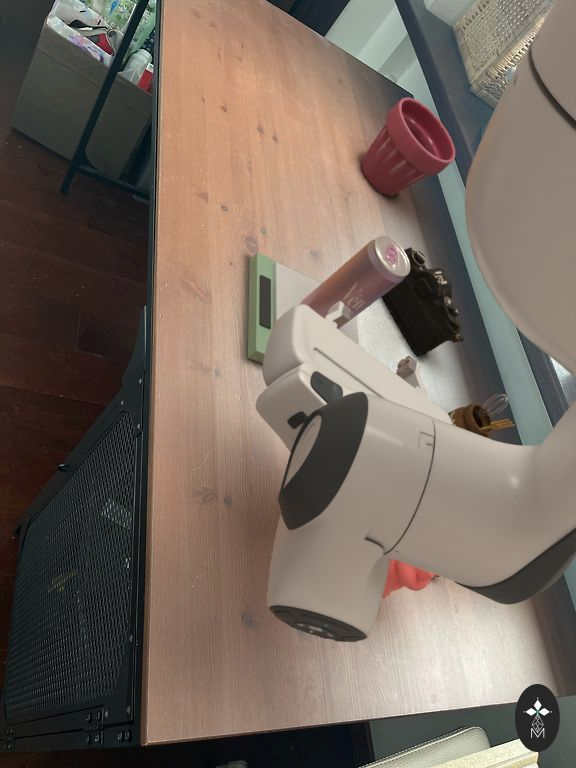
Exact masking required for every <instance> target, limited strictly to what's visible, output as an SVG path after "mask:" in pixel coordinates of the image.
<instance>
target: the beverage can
mask: <svg viewBox="0 0 576 768" xmlns="http://www.w3.org/2000/svg"><path fill="white" fill-rule="evenodd" d="M404 250H405V249H403V248H402V246H401V245H400V243H398V242H397V241H396V240H394V239H393V238H391V237H389V236H386V235H379V236H377V237H376V238H375V239H372V240H370V241H369V242H368V243H366V244H365V245H364V246H363V247H362V248H361V249H360V250H359V251H357V252H356V253H355V254H354V255H353V256H352V257H350V258H349V259H348V260H347V261H346V262H344V264H342V265H341V266H340V267H339V268H337V270H336V271H334V272H333V273H332V274H331V275H330V276H328V277H327V278H326V279H325V280H324V281H323V282H321V283H322V284H321V285H320V286H318V287H317V288H316V289H315V290H314V291H313V292H311V293H310V294H309V295H308V296H307V297H306V298H305V299H303V300H302V302H301V304H305V305H307V306H309V307H310V308H311V309H312V310H314V311H315V312H316V313H317V314H319V315H320V316H321V317H323V318H324V317H325V316H327V314H328V311H329V309H330V308H331V307H332V306H333V305H334V304H335V303H337V302H338V301H341V302H342V303H344V304H345V305H346V306H347V307H348V308H350V309H351V313H350V318H349V320H348V321H347V322H346V323H348V322H349V321H350V320H352V319H353V318H354V317H356V318H357V316H358V315H360V314H361V313H362V312H364V311H365V310H366V309H367V308H369V307H370V306H371V305H373V304H374V303H375V302H376V301H378V300H379V299H381V298H382V296H383V295H384V294H386V293H387V292H388V291H390V290H391V289H392V288H394V287H395V286H396V285H398V284H399V283H400V282H401V281H403V279H404V278H405V276H407V275H408V274H409V272H410V262H409V259H408V257H407V255H406V253H405V252H404ZM301 304H300V305H301ZM346 323H342V325H341V326H340V327H339V328H337V329H340V328H341V327H342V326H344V325H345V324H346Z"/></svg>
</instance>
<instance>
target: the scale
mask: <svg viewBox="0 0 576 768" xmlns="http://www.w3.org/2000/svg"><path fill="white" fill-rule="evenodd" d="M248 266H249V269H248V270H249V271H248V313H247V315H248V316H247V355H246V356H247V359H249V360H252V361H254V362H257V363H260V364H262V365H263V361H264V356H265V351H266V347H267V343H268V340H269V336H270V333H271V330H272V328H273V326H274V324H275V322H276V321H277V320H278V319H279V318H280V317H281V316H282V315H283V314H284V313H285V312H287V311H288V310H289V309H290V308H292V307H294V306H297V305H300V304H301V302H302V300H303V299H305V298H306V297H307V296H308V295H309V294H310V293H311V292H313V291H314V290H315V289H316V288H317V287H318V286H320V285H321V284H322V283H323V282H322V281H321V282H320V281H318V280H316V279H314V278H312V277H311V276H308V275H306V274H303V273H302V272H300V271H297V270H296V269H294V268H291V267H290V266H288V265H285V264H283V263H281V262H279V261H277V260H275V259H273V258H270V257H268V256H266V255H265V254H262V253H260V252H256V253H255V254H253V256H252V257H251V258H250V259H249V264H248ZM357 320H358V319H357V316H356V317H354V318H353V319H352V320H350V321H349V322H348V323H346V324H345V325H344V326H342V327H341V328H340V329H338V330H340V331H341V332H342V333H343V334H345V335H346V336H347V337H349V338H350V339H351V340H353V341H354V342H355V343H357V344H358V345H359V346H360V340H359V331H358V321H357Z"/></svg>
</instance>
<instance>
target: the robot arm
mask: <svg viewBox="0 0 576 768" xmlns="http://www.w3.org/2000/svg"><path fill="white" fill-rule="evenodd" d="M464 191H465V192H464V194H465V195H464V212H465V213H464V214H465V224H466V232H467V236H468V240H469V244H470V248H471V252H472V254H473V258H474V261H475V263H476V265H477V268H478V270H479V273H480V275H481V276H482V279H483V281H484V282H485V284H486V286H487V289H488V290H489V293H491V295H492V297H493V298H494V300H495V301H496V303H497V304H498V306H499V308H500V309H501V311H503V313H504V315H506V317H507V318H508V320H509V321H510V322H511V323H512V324H513V325H514V327H515V328H516V329H517V330H518V331H519V332H520V334H522V335H523V336H524V337H525V338H526V339H527V340H528V341H529V342H531V343H532V344H533V345H534V346H536V347H537V348H538V349H540V350H541V351H542V352H543V353H544V354H546V355H547V356H548V357H550V358H551V359H552V360H554V361H555V362H556V363H557V364H558V365H560V366H561V367H562V368H563V369H564V370H566V371H567V372H568V373H569V374H570V375H571V376H572V377H573V378H574V379H576V0H555V2H554V4H553V5H552V7H551V8H550V10H549V12H548V14H547V15H546V17H545V19H544V20H543V22H542V24H541V25H540V27H539V29H538V31H537V32H536V34H535V35H534V37H533V39H532V41H531V42H530V44H529V45H528V47H527V48H526V51H525V52H524V54H523V56H522V58H521V59H520V61H519V63H518V64H517V67H516V68H515V70H514V72H513V74H512V75H511V77H510V79H509V81H508V83H507V85H506V87H505V88H504V91H503V92H502V94H501V96H500V98H499V100H498V102H497V104H496V106H495V108H494V110H493V113H492V115H491V117H490V118H489V121H488V123H487V126H486V128H485V130H484V132H483V135H482V137H481V139H480V142H479V143H478V147H477V149H476V151H475V154H474V156H473V159H472V162H471V165H470V166H469V170H468V173H467V177H466V182H465V190H464ZM350 313H351V309H350V308H348V307H347V306H346V305H345V304H344V303H342V302H341V301H338V302H337V303H335V304H334V305H333V306H332V307H331V308H330V309H329V311H328V314H327V316H325V317H324V318H323V317H321V316H320V315H319V314H317V313H316V312H315V311H314V310H312V309H311V308H310V307H309V306H307V305H305V304H301V305H297V306H294V307H292V308H290V309H289V310H288V311H287V312H285V313H284V314H283V315H282V316H281V317H280V318H279V319H278V320H277V321H276V322H275V324H274V326H273V328H272V330H271V333H270V336H269V340H268V343H267V347H266V351H265V356H264V361H263V364H262V377H263V381H264V384H265V386H266V388H264V390H263V391H261V393H260V394H259V395H258V396H257V399H256V401H255V409H256V411H257V413H258V415H259V416H260V418H262V419H263V421H264V422H265V423H266V424H267V425H268V426H269V427H270V429H272V430H273V432H274V433H275V434H276V435H277V436H278V437H279V439H280V440H281V442H282V443H283V445H285V447H286V448H287V449H288V451H289V456H288V460H287V463H286V468H285V471H284V474H283V478H282V482H281V485H280V489H279V492H278V496H277V498H276V500H277V504H278V508H279V512H280V516H279V519H278V523H277V528H276V532H275V536H274V540H273V541H274V542H273V546H272V551H271V559H270V565H269V566H270V567H269V573H268V580H267V594H266V606H267V608H268V610H269V611H270V613H272V614H273V615H274V617H275V618H276V619H277V620H278V621H280V622H282V623H283V624H285V625H287V626H288V627H290V628H293V629H296V630H298V631H300V632H303V633H306V634H309V635H312V636H315V637H319V638H320V639H325V640H332V641H334V642H339V643H357V642H359V641H364V640H367V639H368V638H369V637H370V636H371V634H372V632H373V630H374V626H375V624H376V620H377V617H378V614H379V611H380V608H381V604H382V601H383V599H382V596H383V592H384V589H385V584H386V580H387V576H388V571H389V566H390V561H391V559H394V560H397V561H399V562H402V563H405V564H408V565H410V566H413V567H416V568H419V569H422V570H424V571H427V572H430V573H433V574H435V575H438V576H437V577H439V576H440V578H444V579H446V580H450V581H452V582H454V583H455V584H457V585H459V586H460V587H463V588H464V589H467V590H469V591H472V592H474V593H476V594H478V595H480V596H483V597H485V598H487V599H489V600H491V601H494V602H496V603H498V604H501V605H515V604H519V603H521V602H525V601H527V600H529V599H531V598H534V597H536V596H538V595H539V594H541V593H543V592H544V591H546V590H548V589H549V588H550V587H552V586H553V585H554V584H556V582H557V581H558V580H559V579H560V578H561V577H562V576H563V575H564V574H565V573H566V572H567V570H568V568H569V567H570V566H571V564H572V562H573V560H574V559H575V557H576V398H575V399H574V400H573V401H572V403H571V404H570V406H569V407H568V408H567V410H566V411H565V412H564V414H563V415H562V416H561V417H560V419H559V420H558V421H557V422H556V423H555V425H554V426H553V427H552V429H551V430H550V431H549V433H548V434H547V436H546V437H545V438H544V440H543V441H542V442H541V443H540V444H536V445H535V444H534V445H521V444H512V443H506V442H502V441H497V440H494V439H491V438H488V437H483V436H481V435H478V434H475V433H473V432H470V431H467V430H465V429H462V428H459V427H457V426H454V425H452V422H451V419H450V417H449V415H448V414H447V413H448V412H447V411H445V410H444V409H443V408H441V407H440V406H438V405H437V404H436V403H434V402H433V401H432V400H431V399H429V398H428V397H427V391H426V388H425V386H424V382H423V379H422V377H421V375H420V369H421V363H420V362H419V361H418V360H415V359H414V358H413V357H412V356H411V355H407V356H405V358H402V359H401V360H399V362H398V363H397V365H396V366H397V369H396V372H394V371H393V370H392V369H391V368H389V367H388V366H387V365H385V364H384V363H383V362H381V361H380V360H378V358H376V357H375V356H373V355H372V354H371V353H370V352H368V351H367V350H366V349H365V348H363V347H362V346H360V344H359V345H358V344H357V343H355V342H354V341H353V340H351V339H350V338H349V337H347V336H346V335H345V334H343V333H342V332H341V331H340V330H338V329H337V328H339V327H340V326H341V325H342V323H346V322H347V321H348V320H349V318H350ZM435 575H434V576H435Z"/></svg>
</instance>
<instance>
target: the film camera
mask: <svg viewBox="0 0 576 768" xmlns="http://www.w3.org/2000/svg"><path fill="white" fill-rule="evenodd" d="M403 250H404V252H405V253H406V255H407V257H408V259H409V262H410V272H409V274H408V275H407V276H405V278H404V279H403V281H401V282H400V283H399V284H398V285H396V286H395V287H394V288H392V289H391V290H390V291H388V292H387V293H386V294H384V295H383V296H382V297H381V298H382V299H383V301H384V302H385V304H386V307H388V310H389V311H390V313H391V314H392V317H393V319H394V320H395V322H396V323H397V325H398V327H399V329H400V330H401V332H402V333H403V336H404V338H405V339H406V341H407V342H408V344H409V346H410V348H411V349H412V351H413V352H414V353H415V354H416V356H417V357H423V356H426V355H427V354H429V353H430V352H432V351H433V350H434V349H436V348H438V347H440V346H442V345H443V344H444V343H446V342H452V343H453V344H454V343H459V342H464V341H465V337H464V336H461V335H460V333H462V323H461V321H460V319H459V318H457V317H458V316H460V314H459V311H458V309H457V308H455V305H454V302H453V300H452V298H453V284H452V281H451V279H450V277H449V276H448V274H447V272H446V271H445V269H443V268H441V267H436V268H427V266H426V258H425V257H426V256H425V254H424V253H423V252H421V251H419V250H417V251H416V250H415V249H414V248H413V247H411V246H410V247H408V248H405V249H403Z"/></svg>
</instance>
